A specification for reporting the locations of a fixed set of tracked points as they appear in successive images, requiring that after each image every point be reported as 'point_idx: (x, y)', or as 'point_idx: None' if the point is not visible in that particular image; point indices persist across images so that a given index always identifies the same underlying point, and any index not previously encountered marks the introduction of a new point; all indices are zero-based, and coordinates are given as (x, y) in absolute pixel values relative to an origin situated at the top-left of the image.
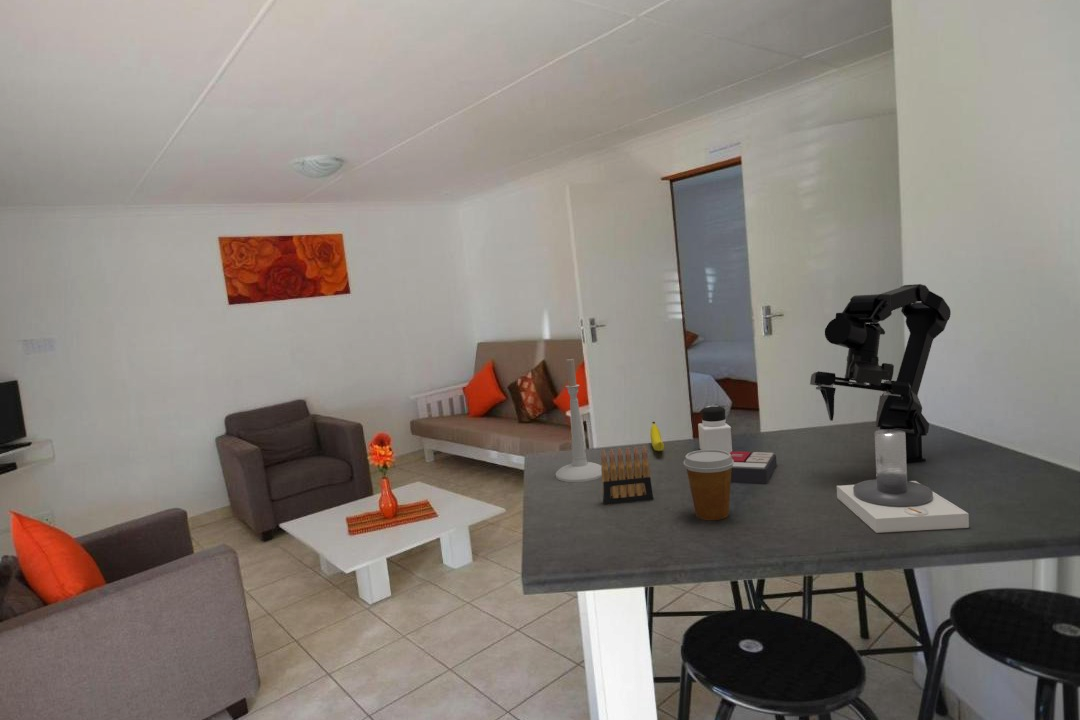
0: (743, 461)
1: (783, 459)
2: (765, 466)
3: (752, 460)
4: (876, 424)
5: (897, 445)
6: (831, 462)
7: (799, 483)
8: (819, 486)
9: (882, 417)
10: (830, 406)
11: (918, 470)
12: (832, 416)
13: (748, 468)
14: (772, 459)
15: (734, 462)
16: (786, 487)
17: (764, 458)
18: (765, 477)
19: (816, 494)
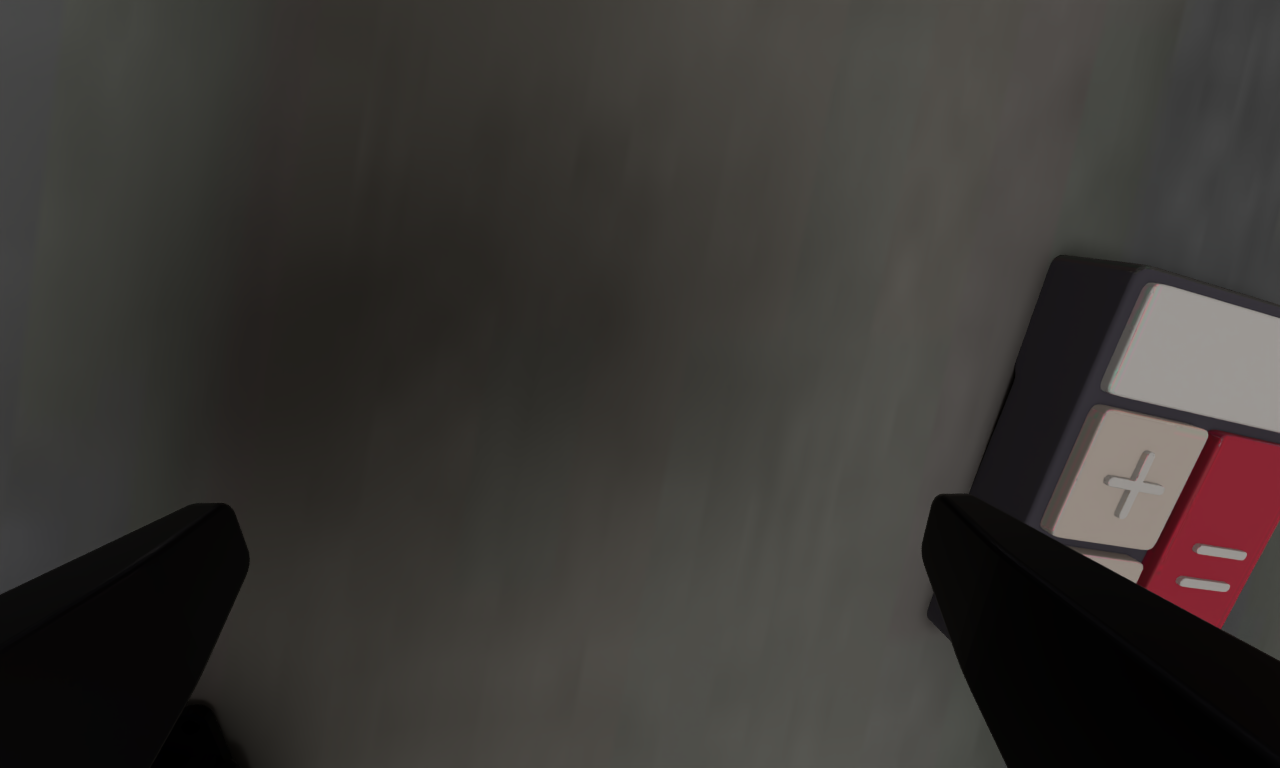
0: (1214, 441)
1: (870, 720)
2: (1129, 328)
3: (1171, 451)
4: (226, 581)
5: None
6: (625, 686)
7: (886, 262)
8: (789, 195)
9: (15, 604)
10: (1219, 647)
11: (72, 549)
12: (989, 522)
13: (1225, 293)
14: None
15: (1265, 417)
16: (971, 184)
17: (1090, 508)
18: (1095, 259)
19: (841, 22)
